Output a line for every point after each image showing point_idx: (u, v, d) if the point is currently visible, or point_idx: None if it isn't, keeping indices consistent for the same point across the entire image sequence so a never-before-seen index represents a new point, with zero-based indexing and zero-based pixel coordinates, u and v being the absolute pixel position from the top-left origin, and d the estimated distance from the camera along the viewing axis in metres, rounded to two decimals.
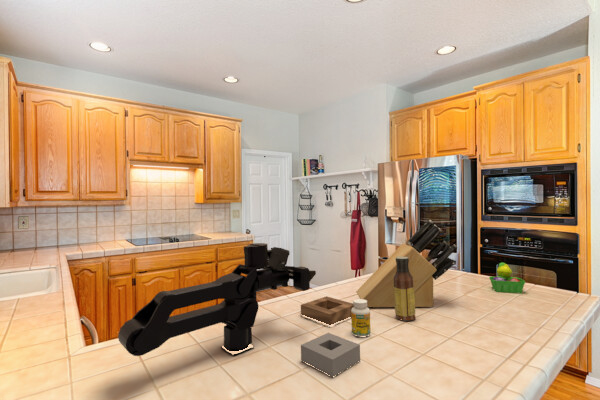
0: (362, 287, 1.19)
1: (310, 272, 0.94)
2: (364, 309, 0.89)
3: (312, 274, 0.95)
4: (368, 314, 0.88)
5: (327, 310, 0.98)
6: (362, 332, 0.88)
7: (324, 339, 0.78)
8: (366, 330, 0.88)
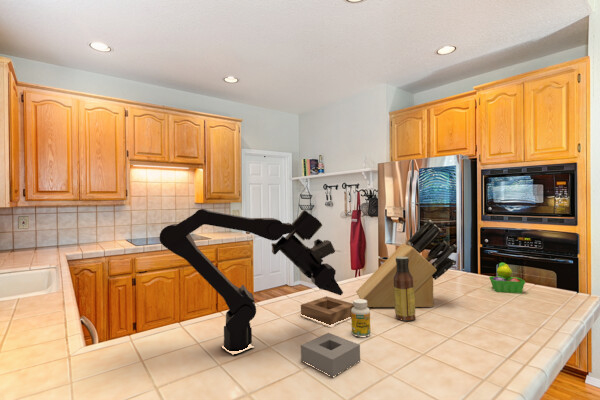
0: (362, 287, 1.19)
1: (336, 285, 0.83)
2: (364, 309, 0.89)
3: (336, 290, 0.83)
4: (368, 314, 0.88)
5: (327, 310, 0.98)
6: (362, 332, 0.87)
7: (324, 339, 0.78)
8: (366, 330, 0.88)
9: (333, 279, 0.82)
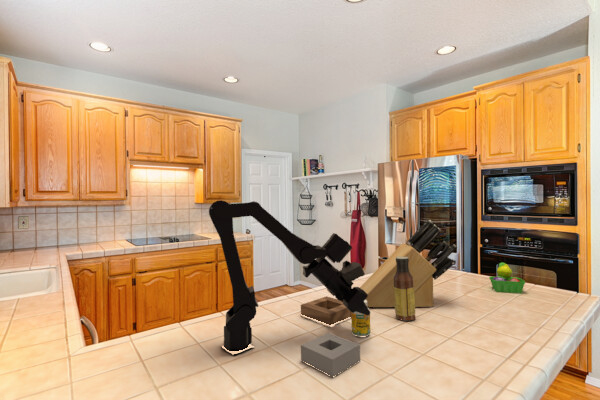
0: (362, 287, 1.19)
1: (364, 305, 0.86)
2: None
3: (364, 310, 0.87)
4: None
5: (327, 310, 0.98)
6: (362, 332, 0.88)
7: (324, 339, 0.78)
8: (366, 330, 0.88)
9: None
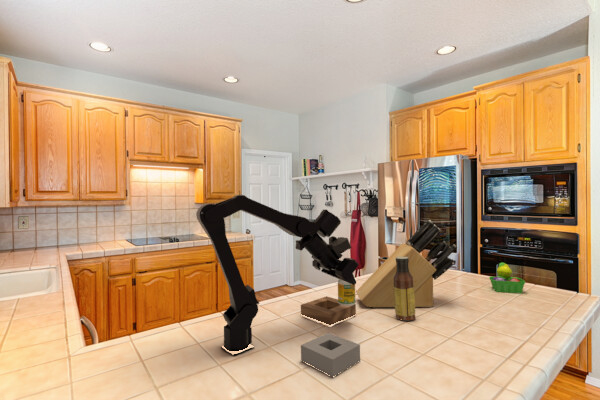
0: (362, 287, 1.19)
1: (352, 275, 0.94)
2: None
3: (352, 280, 0.94)
4: None
5: (327, 310, 0.98)
6: (349, 301, 0.95)
7: (324, 339, 0.78)
8: (352, 299, 0.95)
9: None
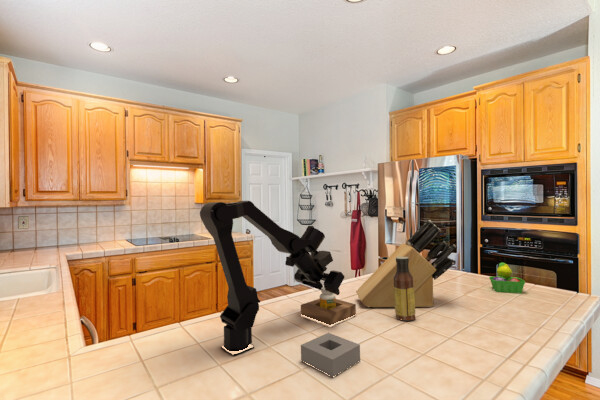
0: (362, 287, 1.19)
1: None
2: (332, 294, 1.03)
3: (337, 291, 1.01)
4: (335, 298, 1.04)
5: (327, 310, 0.98)
6: None
7: (324, 339, 0.78)
8: None
9: None
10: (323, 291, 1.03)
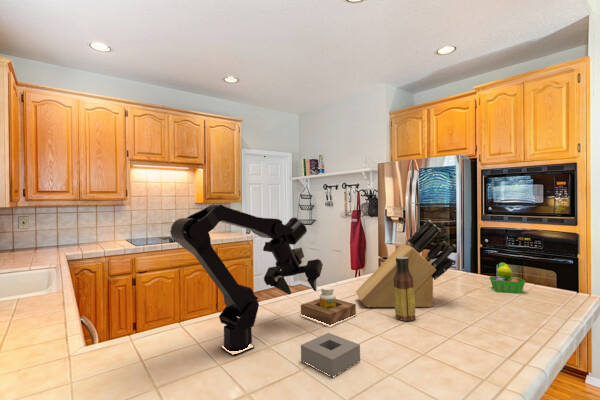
0: (362, 287, 1.19)
1: (315, 280, 0.98)
2: (332, 294, 1.03)
3: (315, 285, 0.98)
4: (335, 298, 1.04)
5: (327, 310, 0.98)
6: None
7: (324, 339, 0.78)
8: None
9: None
10: (323, 291, 1.03)
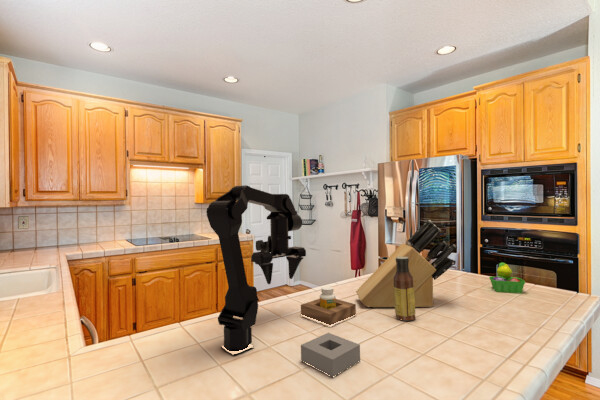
0: (362, 287, 1.19)
1: None
2: (332, 294, 1.03)
3: None
4: (335, 298, 1.04)
5: (327, 310, 0.98)
6: None
7: (324, 339, 0.78)
8: None
9: None
10: (323, 291, 1.03)
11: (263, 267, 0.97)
